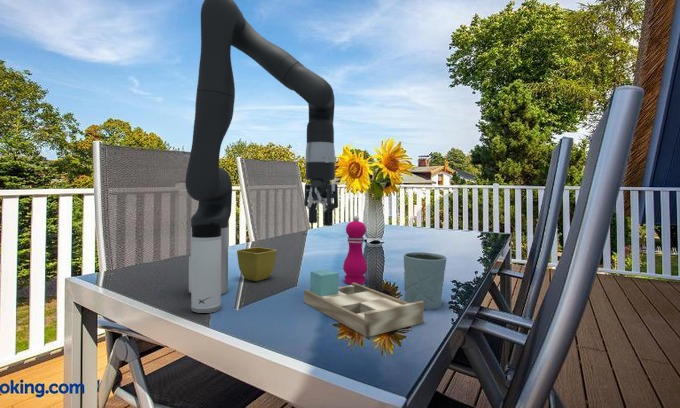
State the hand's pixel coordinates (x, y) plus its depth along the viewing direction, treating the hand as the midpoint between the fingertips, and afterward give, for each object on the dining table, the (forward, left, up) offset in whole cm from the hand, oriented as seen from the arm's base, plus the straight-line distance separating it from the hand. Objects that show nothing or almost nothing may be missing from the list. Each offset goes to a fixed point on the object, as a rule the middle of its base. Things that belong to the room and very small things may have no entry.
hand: (320, 224), depth 94 cm
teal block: (-2, -5, -16) cm, 17 cm away
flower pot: (-8, +25, -19) cm, 32 cm away
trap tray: (+1, -15, -19) cm, 24 cm away
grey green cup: (+18, -19, -19) cm, 33 cm away
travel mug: (-28, +3, -19) cm, 33 cm away
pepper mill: (+16, +7, -19) cm, 26 cm away
